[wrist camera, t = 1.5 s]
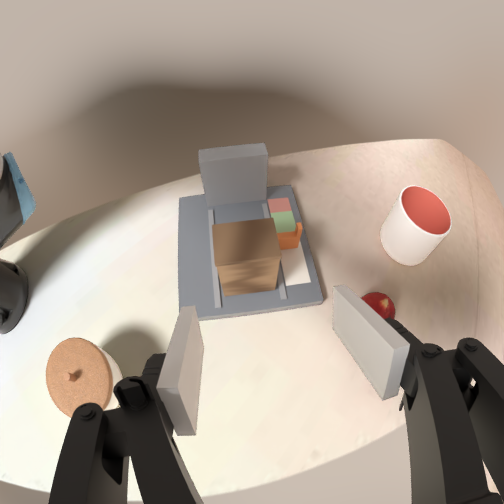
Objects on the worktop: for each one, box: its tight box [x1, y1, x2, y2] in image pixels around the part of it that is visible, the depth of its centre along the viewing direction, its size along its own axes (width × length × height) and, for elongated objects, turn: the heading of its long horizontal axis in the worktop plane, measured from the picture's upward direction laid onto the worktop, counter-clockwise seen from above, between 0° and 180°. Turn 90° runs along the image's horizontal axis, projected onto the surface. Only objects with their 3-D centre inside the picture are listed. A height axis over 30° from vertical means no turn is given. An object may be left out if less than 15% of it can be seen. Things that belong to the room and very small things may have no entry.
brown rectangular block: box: [212, 218, 282, 297], centre depth 35 cm, size 7×5×10 cm
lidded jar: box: [46, 338, 123, 418], centre depth 28 cm, size 11×11×9 cm
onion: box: [361, 292, 395, 319], centre depth 34 cm, size 6×6×8 cm
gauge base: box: [178, 143, 323, 321], centre depth 39 cm, size 20×22×12 cm
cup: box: [380, 185, 452, 266], centre depth 40 cm, size 10×10×10 cm
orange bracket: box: [277, 222, 303, 250], centre depth 39 cm, size 11×1×5 cm, turn 98°
